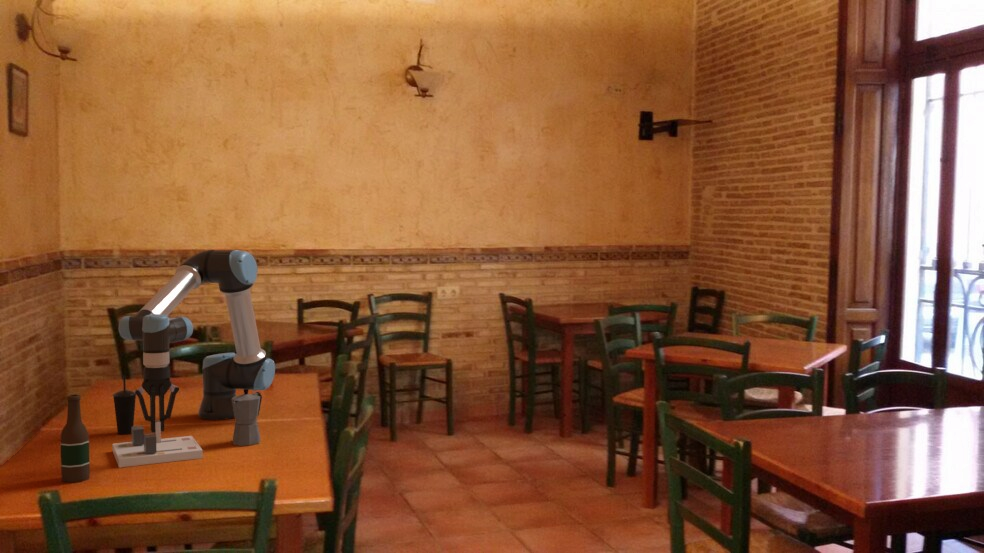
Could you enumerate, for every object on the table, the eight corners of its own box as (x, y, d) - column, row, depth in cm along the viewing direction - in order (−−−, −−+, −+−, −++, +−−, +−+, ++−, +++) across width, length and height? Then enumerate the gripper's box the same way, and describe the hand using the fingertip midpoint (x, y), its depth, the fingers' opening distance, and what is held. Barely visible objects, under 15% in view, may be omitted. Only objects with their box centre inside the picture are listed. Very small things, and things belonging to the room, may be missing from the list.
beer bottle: (66, 475, 258) (64, 392, 257) (94, 474, 259) (92, 392, 257) (55, 483, 251) (53, 398, 249) (84, 482, 251) (82, 398, 250)
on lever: (141, 441, 287) (141, 425, 286) (143, 444, 282) (143, 428, 282) (131, 442, 285) (131, 426, 285) (133, 445, 281) (133, 429, 280)
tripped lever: (154, 449, 277) (154, 433, 277) (156, 452, 273) (156, 436, 272) (143, 450, 276) (143, 434, 275) (145, 454, 271) (145, 437, 271)
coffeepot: (247, 448, 289) (247, 393, 288) (222, 446, 292) (221, 391, 291) (273, 437, 304) (272, 384, 302) (249, 435, 307) (248, 383, 305)
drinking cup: (128, 436, 304) (127, 377, 302) (108, 434, 305) (107, 376, 304) (142, 431, 311) (140, 373, 310) (122, 429, 313) (121, 372, 311)
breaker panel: (191, 443, 295) (191, 435, 295) (202, 458, 278) (202, 449, 277) (112, 451, 284) (112, 443, 284) (118, 467, 266) (118, 458, 266)
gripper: (177, 362, 280) (178, 437, 281) (132, 365, 273) (133, 441, 275) (180, 366, 273) (182, 442, 275) (135, 369, 267) (136, 447, 268)
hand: (157, 442), depth 275 cm, fingers closed
